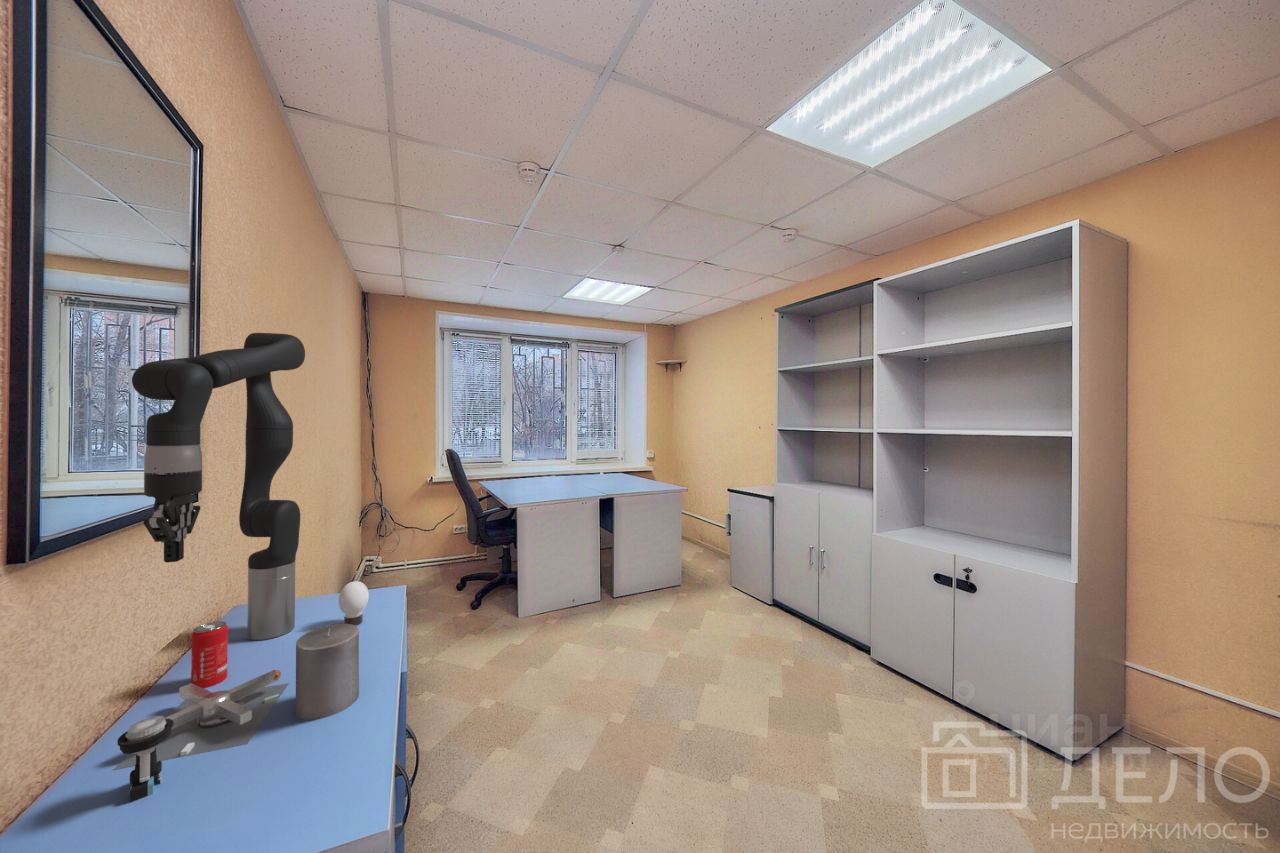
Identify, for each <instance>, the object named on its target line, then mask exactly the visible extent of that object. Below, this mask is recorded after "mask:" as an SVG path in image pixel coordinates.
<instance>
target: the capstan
mask: <svg viewBox="0 0 1280 853" xmlns="http://www.w3.org/2000/svg"><path fill="white" fill-rule="evenodd" d="M281 676H282V672H281V670H279V669H273V670H270V671H268V672H266V673H264V674H261V675H260V676H257V677H254V678H252V679H251V680H248V681H246V682H244V683H241V684H239V685H237V686H235V687H231V688H229V689H227V690H226V689H225V690H224V689H222V690H217V691H213V692H212V691H210V690H207V689H206V688H201V687H199V686H196V685H194V684H192V683H191V682H190V683H188V684H185V685H183V686H181V687H179V688H178V689H179V692H178V694H179V696H178V697H179V698H181V699H183V700H187V701H190V702H192V703H194V704H195V705H193V706H191V707H188V708H186V709H184V710H182V711H179V712H177V713H175V714H173V715H170V714H169V715H170V716H169V715H168V716H166V717H164V718H165V719H171V720H173V722H174V724H173V727H172V729H174V728H176V727H178V726H181V725H183V724H185V723H187V722H189V721H191V720H193V719H196V718H197V726H198V727H200V728H213V727H217V726H220V725H223V724H226V723H228V722H230V721H232V722H234V723H236V724H239V725H242V724H244V723H245V722H247V721H249V720H251V719H252V710H251V709H249V708H247V707H244V703H243V702H242V701H235V700H237V699H239V698H241V697H243V696H245V695H248V694H250V693H252V692H254V691H256V690H258V689H261V688H263V687H268V686H270V685H271V684H273V683H276V682H278V681H279V680H280V679H281ZM172 729H171V730H172Z"/></svg>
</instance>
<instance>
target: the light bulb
mask: <svg viewBox="0 0 1280 853" xmlns="http://www.w3.org/2000/svg"><path fill="white" fill-rule="evenodd" d="M369 593H370V592H369V589H368V587H367V586H366V584H365V583H363V582H361V581H360V580H359V581H357V580H355V581H354V580H353V581H351V582H349V583H347V584H346V585H345V586H344V587H343V588H342V589H341V591H340V593H339V597H338V607H339V609H340V610H341V612H342V613H343V614H344V617H343V624H351V625H355V626H357V625H361V624H362V623H363V615H364V614H363V613H364V612H363V611H364V610H365V608H366V607H367V605H368V602H369V598H370V594H369Z"/></svg>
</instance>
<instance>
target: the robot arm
mask: <svg viewBox="0 0 1280 853" xmlns="http://www.w3.org/2000/svg"><path fill="white" fill-rule="evenodd" d="M305 357H306V350H305V346H304V344H303V342H302V341H301V339H299V338H298V337H297V336H294V335H292V334H289V333H276V332H275V333H271V332H252V333H250V334H248V335H247V337H246V338H245V341H244V343H243V348H232V349H231V348H229V349H222V350H216V351H211V352H207V353H203V354H202V353H201V354H199V355H196V356H191V357H182V358H171V359H169V358H168V359H162V360H155V361H154V360H153V361H149V362H146V363H143V364H142V365H140V366H139V367H138V368H136V370H134V373H133V375H132V377H131V384H132V387H133V389H134V390H135V391H136V393H138V394H139V395H141V396H143V397H144V398H147V399H151V400H155V401H174V402H173V404H172V406H171V408H170V409H169V410H168V411H165V412H160V413H159V412H158V413H155V414H152V415H150V416H148V417H147V419H146V429H145V431H146V432H145V435H146V436H145V438H146V439H145V444H146V447H145V453H144V459H143V460H144V461H143V463H144V464H143V471H144V472H143V494H144V495H145V497H149V498H154V499H155V500H154V504H153V507H152V510H153V514H152V516H151V517H145V518H144V519H143V525H144V527H145V528H146V529H147V531H148V533H149V535H150V536H151V537H152V539H153V541H154V542H156V543H159V542H160V543H161V544H163V561H164V563H176V562H179V561H181V560H183V559H184V558H185V540H186V539H187V536H188V535H189V534H191V533H192V532H193V529H194V527H195V524H196V521H197V519H198V516H199V514H200V511H201V505H194V503H193V502H194V497H193V495H195V494H196V495H197V494H199V493H201V492H202V491H203V454H202V447H201V424H202V420H203V418H204V415H205V412H206V409H207V406H208V403H209V401H210V399H211V396H212V393H213V389H217V388H222V387H225V386H228V385H230V384H234V383H236V382H239V381H242V380H245V386H246V387H245V388H246V419H245V443H244V444H245V464H244V465H245V466H244V479H243V481H244V482H243V486H242V495H241V502H240V508H239V514H238V515H239V516H238V518H239V519H238V520H239V522H238V523H239V528H240V530H241V532H242V534H243V535H244V536H246V537H248V538H269V544H268V547H266V548H264V549H261V550H258V551H255V552H253V553H251V554H250V555H249V556H248V560H247V561H248V562H247V622H246V623H247V625H246V626H247V627H246V628H247V631H246V632H247V633H246V634H247V636H246V637H247V639H249V640H250V641H260V640H261V641H263V640H264V641H265V640H269V639H274V638H277V637H280V636H283V635H286V634H287V633H290V632H292V631H293V630H294V629H295V625H296V623H295V622H296V620H295V619H296V615H295V614H296V556H297V551H298V548H299V542H300V540H299V539H300V526H301V511H300V510H301V509H300V507H299V505H298V504H297V502H296V501H294V500H289V499H270V497H271V496H270V495H271V494H270V492H271V486H272V481H273V479H274V477H275V475H276V473H277V472H278V470H279V469H280V468H281V466H282V465H283V463H284V462H285V461H286V460H287V458H288V457H289V455H290V454H291V451H292V449H293V446H294V445H293V443H294V423H293V419H292V417H291V415H290V414H289V412H288V411H287V409H286V408H285V406H284V405H283V404H282V402H281V401H280V400H279V398H278V397H277V395H276V393H275V391H274V387H273V384H272V377H271V376H272V375H271V374H272V373H273V372H278V371H291V370H297V369H298V368H300V367H301V366H302V365H303V364H304V363H305Z"/></svg>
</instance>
